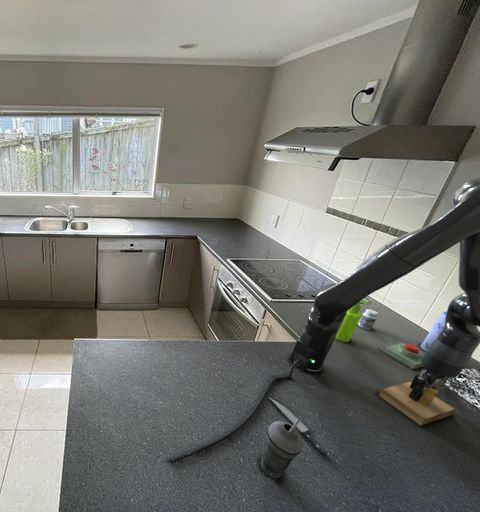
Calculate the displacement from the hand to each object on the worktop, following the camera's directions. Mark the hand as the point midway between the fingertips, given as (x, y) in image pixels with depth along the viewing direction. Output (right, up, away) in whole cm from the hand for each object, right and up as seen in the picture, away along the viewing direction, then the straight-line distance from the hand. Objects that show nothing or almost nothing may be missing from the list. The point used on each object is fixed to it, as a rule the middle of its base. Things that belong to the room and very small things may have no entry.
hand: (418, 397), depth 90 cm
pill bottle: (+22, +12, +41) cm, 48 cm away
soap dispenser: (+3, +9, +32) cm, 33 cm away
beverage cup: (-59, -10, -18) cm, 62 cm away
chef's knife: (-44, -5, -6) cm, 44 cm away
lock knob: (0, -1, 0) cm, 1 cm away
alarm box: (+21, +5, +22) cm, 31 cm away
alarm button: (+21, +8, +21) cm, 30 cm away
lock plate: (0, -3, +1) cm, 4 cm away
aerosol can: (+37, +6, +27) cm, 46 cm away
